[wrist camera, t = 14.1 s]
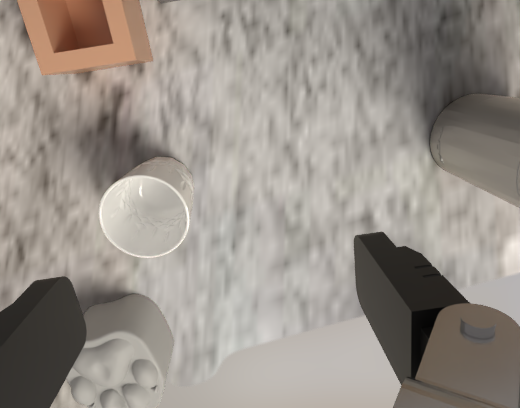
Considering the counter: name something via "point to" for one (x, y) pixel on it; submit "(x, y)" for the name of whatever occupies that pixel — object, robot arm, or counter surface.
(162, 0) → the tray
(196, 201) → the counter surface
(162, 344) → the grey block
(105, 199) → the white cup
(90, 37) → the pot
